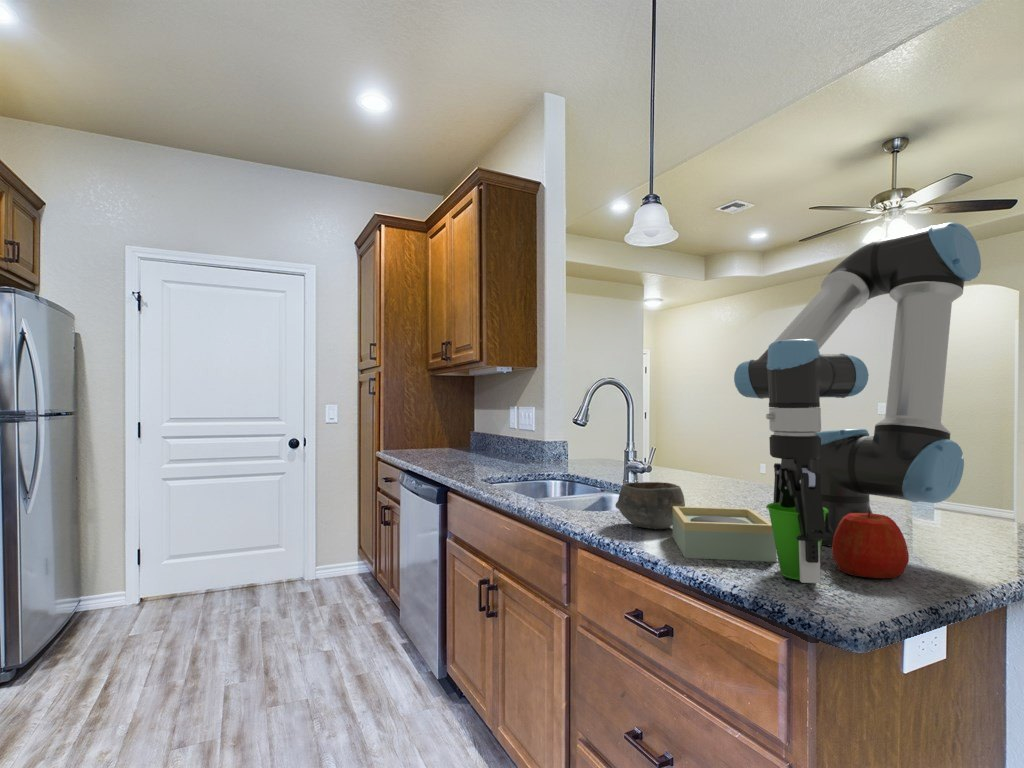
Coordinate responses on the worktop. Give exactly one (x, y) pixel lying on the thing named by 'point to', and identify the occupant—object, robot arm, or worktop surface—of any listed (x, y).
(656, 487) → the bowl
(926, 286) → the robot arm
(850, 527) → the apple
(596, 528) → the worktop surface
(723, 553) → the open box
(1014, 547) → the worktop surface
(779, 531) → the cup
